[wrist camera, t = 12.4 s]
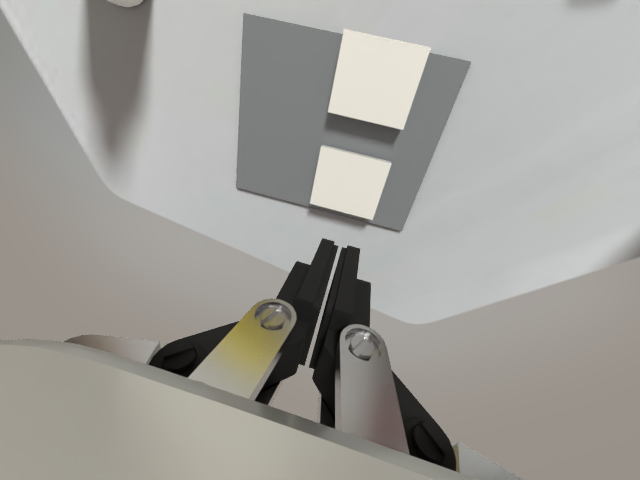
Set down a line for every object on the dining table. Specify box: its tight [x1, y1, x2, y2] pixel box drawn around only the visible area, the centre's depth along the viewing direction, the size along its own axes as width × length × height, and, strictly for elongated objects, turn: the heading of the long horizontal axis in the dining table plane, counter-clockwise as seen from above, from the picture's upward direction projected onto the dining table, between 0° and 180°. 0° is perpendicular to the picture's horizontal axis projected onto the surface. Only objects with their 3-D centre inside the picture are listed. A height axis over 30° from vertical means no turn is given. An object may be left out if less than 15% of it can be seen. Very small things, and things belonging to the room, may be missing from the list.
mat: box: [236, 13, 471, 231], centre depth 25 cm, size 20×16×1 cm
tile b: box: [310, 145, 392, 220], centre depth 26 cm, size 2×6×7 cm
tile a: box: [328, 29, 431, 130], centre depth 21 cm, size 2×6×7 cm
